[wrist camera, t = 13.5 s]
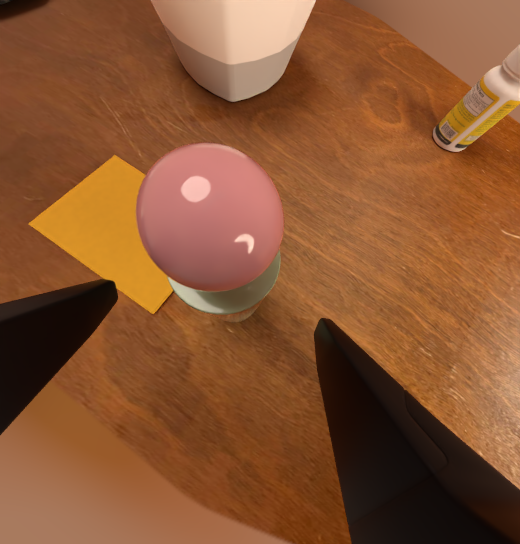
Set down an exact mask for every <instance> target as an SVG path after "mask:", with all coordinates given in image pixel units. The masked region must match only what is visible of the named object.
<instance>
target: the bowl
mask: <svg viewBox="0 0 520 544" xmlns="http://www.w3.org/2000/svg"><path fill="white" fill-rule="evenodd" d="M315 1H316V0H151V2H152V4H153V6H154V8H155V10H156V12H157V14H158V16H159V18H160V20H161V22H162V24H163V26H164V28H165V30H166V32H167V34H168V37H169V39H170V41H171V43H172V45H173V47H174V49H175V51H176V53H177V55H178V57H179V59H180V61H181V63H182V65H183V66H184V68H185V69H186V71H187V72H188V73H189V75H190V76H191V77H192V78H193V79H194V80H195V81H196V82H197V83H198V84H199V85H201V86H202V87H204V88H205V89H207V90H209V91H210V92H212V93H213V94H215V95H217V96H220V97H222V98H224V99H226V100H228V101H231V102H235V101H239V100H243V99H247V98H250V97H252V96H255V95H257V94H259V93H262V92H264V91H266V90H268V89H269V88H270V87H271V86H272V85H274V84H275V83H276V82H277V81H278V80H279V79H280V77H281V76H282V75H283V73H284V71H285V69H286V67H287V65H288V62H289V60H290V58H291V55H292V53H293V51H294V48H295V46H296V44H297V42H298V39H299V37H300V35H301V32H302V30H303V29H304V26H305V24H306V22H307V20H308V17H309V15H310V13H311V10H312V8H313V6H314V4H315Z"/></svg>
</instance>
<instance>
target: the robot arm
mask: <svg viewBox="0 0 520 544" xmlns="http://www.w3.org/2000/svg"><path fill="white" fill-rule="evenodd" d="M117 300H118V294H117V289H116V284H115V282H114V281H112V280H107V279H100V280H96V281H92V282H87V283H83V284H79V285H75V286H71V287H67V288H63V289H59V290H55V291H51V292H47V293H43V294H39V295H35V296H31V297H27V298H23V299H19V300H15V301H11V302H7V303H3V304H0V435H1V434H2V433H3V432H4V430H5V429H6V428H7V427H8V426H9V425H10V424H11V423H12V421H14V419H15V418H16V417H17V416H18V415H19V414H20V413H21V412H22V411H23V410H24V409H25V407H26V406H27V405H28V404H29V403H30V402H31V401H32V400H33V399H34V397H35V396H36V395H37V394H38V393H39V392H40V391H41V390H42V389H43V388H44V387H45V385H46V384H47V383H48V382H49V381H50V380H51V379H52V378H53V377H54V376H55V374H56V373H57V372H58V371H59V370H60V369H61V368H62V367H63V366H64V365H65V363H66V362H67V361H68V360H69V359H70V358H71V357H72V356H73V355H74V353H75V352H76V351H77V350H78V349H79V348H80V347H81V346H82V345H83V344H84V342H85V341H86V340H87V339H88V338H89V337H90V336H91V335H92V333H93V332H94V331H95V330H96V329H97V327H98V326H99V325H100V323H101V322H102V321H103V319H104V318H105V317H106V315H107V314H108V313H109V311H110V310H111V309H112V307H113V306H114V305H115V303H116V302H117ZM314 342H315V353H316V364H317V372H318V377H319V382H320V387H321V392H322V397H323V402H324V407H325V412H326V417H327V422H328V427H329V432H330V437H331V442H332V447H333V452H334V457H335V462H336V467H337V472H338V477H339V482H340V487H341V492H342V497H343V502H344V507H345V512H346V517H347V522H348V525H349V532H350V537H351V542H352V544H520V489H518V488H517V487H516V486H515V485H513V484H512V483H511V482H510V481H509V480H508V479H506V478H505V477H504V476H503V475H502V474H501V473H499V472H498V471H497V470H496V469H495V468H494V467H492V466H491V465H490V464H489V463H488V462H487V461H485V460H484V459H483V458H482V457H481V456H480V455H478V454H477V453H476V452H475V451H474V450H473V449H471V448H470V447H469V446H468V445H467V444H466V443H464V442H463V441H462V440H461V439H460V438H459V437H457V436H456V435H455V434H454V433H453V432H452V431H450V430H449V429H448V428H447V427H446V426H445V425H444V424H442V423H441V422H440V421H439V420H438V419H437V418H436V417H434V416H433V415H432V414H431V413H430V412H429V411H428V410H427V409H426V408H425V407H423V406H422V405H421V404H420V403H419V402H418V401H417V400H416V399H415V398H414V397H413V396H412V395H411V394H409V393H408V392H407V391H406V390H404V388H403V387H402V386H401V385H400V384H399V383H398V382H397V381H396V380H395V379H393V378H392V377H391V376H390V375H389V374H388V373H387V372H386V371H385V370H384V369H383V368H382V367H381V366H380V365H379V364H377V363H376V362H375V361H374V360H373V359H372V358H371V357H370V356H369V355H368V354H367V353H366V352H365V351H364V350H363V349H361V348H360V347H359V346H358V345H357V344H356V343H355V342H354V341H353V340H352V339H351V338H350V337H349V336H348V335H347V334H346V333H344V332H343V331H342V330H341V329H340V328H339V327H338V326H337V325H336V324H335V323H334V322H333V321H332V320H330V319H326V318H321V319H320V320H319V322H318V325H317V327H316V329H315V332H314Z"/></svg>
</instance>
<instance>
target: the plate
mask: <svg viewBox="0 0 520 544" xmlns="http://www.w3.org/2000/svg"><path fill="white" fill-rule="evenodd" d="M9 1H11V0H0V5H1V4H4V3H7V2H9Z"/></svg>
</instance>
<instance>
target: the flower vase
mask: <svg viewBox="0 0 520 544" xmlns="http://www.w3.org/2000/svg"><path fill="white" fill-rule="evenodd" d="M135 220H136V228H137V231H138V234H139V238H140V241H141V243H142V245H143V248H144V250H145V251H146V253H147V254H148V256H149V257H150V259H151V260H152V262H153V263H154V264H155V265H156V266H157V267H158V268H159V269H160V270H161V271H162V272H163V273H164V274H165V275H167V278H168V281H169V283H170V285H171V287H172V289H173V290H174V292H175V293H176V294H177V295H178V296H179V298H180V299H181V300H183V301H184V302H185V303H186V304H188V305H189V306H191V307H193V308H194V309H197V310H199V311H202V312H204V313H207V314H209V315H212V316H214V317H217V318H220V319H222V320H225V321H228V322H240V321H243V320H245V319H247V318H248V317H250V316H251V315H252V314H253V313H254V311H255V310H256V309H257V308H258V306H259V305H260V304H261V302H262V301H263V300H264V298H265V297H266V296H267V294H268V293H269V292H270V290H271V289H272V287H273V286H274V284H275V282H276V280H277V277H278V274H279V270H280V262H281V258H280V250H279V248H280V246H281V242H282V238H283V234H284V211H283V206H282V201H281V198H280V195H279V192H278V190H277V188H276V186H275V184H274V182H273V181H272V179H271V178H270V176H269V175H268V174H267V172H266V171H265V170H264V169H263V168H262V167H261V166H260V164H258V163H257V162H256V161H255V160H254V159H252V158H251V157H249V156H248V155H246V154H245V153H243V152H241V151H240V150H238V149H235V148H233V147H230V146H227V145H223V144H218V143H211V142H198V143H191V144H187V145H183V146H180V147H178V148H176V149H174V150H172V151H170V152H168V153H167V154H165V155H163V156H162V157H161V158H160V159H158V160H157V161H156V162H155V163H154V164H153V165H152V167H151V168H150V169H149V171H148V172H147V174H146V175H145V177H144V179H143V180H142V182H141V185H140V187H139V190H138V194H137V199H136V203H135Z"/></svg>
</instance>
